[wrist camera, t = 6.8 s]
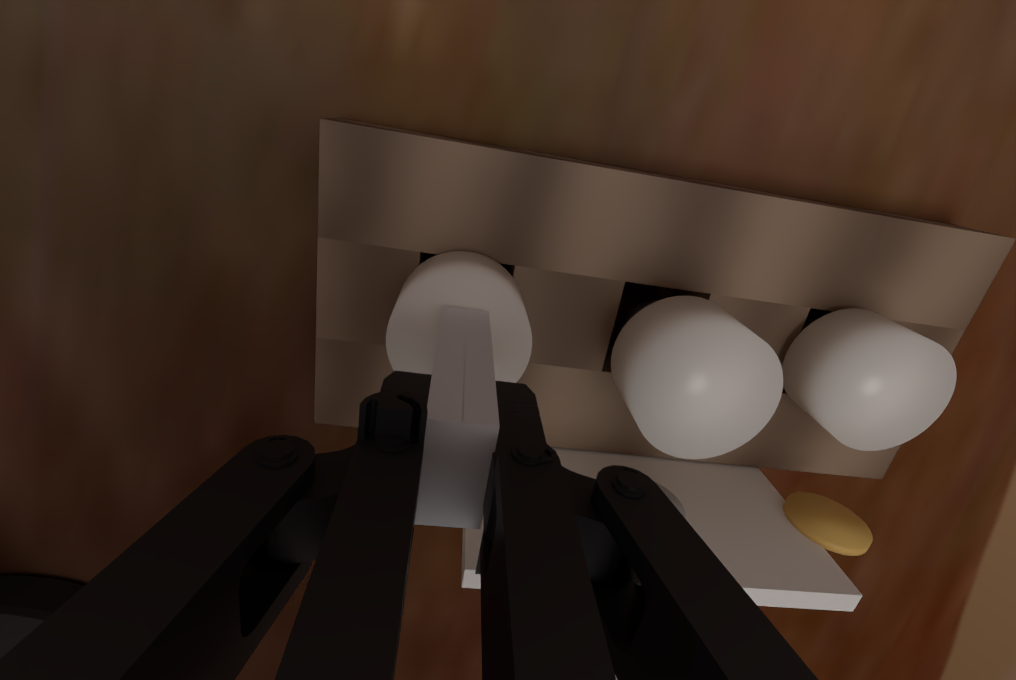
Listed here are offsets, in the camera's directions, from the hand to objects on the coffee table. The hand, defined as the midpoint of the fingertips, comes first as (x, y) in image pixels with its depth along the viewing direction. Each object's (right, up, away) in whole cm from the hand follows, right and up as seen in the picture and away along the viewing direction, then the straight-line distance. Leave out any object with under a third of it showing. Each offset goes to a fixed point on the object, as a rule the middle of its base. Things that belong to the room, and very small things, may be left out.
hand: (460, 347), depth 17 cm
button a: (0, +2, +6) cm, 6 cm away
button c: (+15, +1, +8) cm, 17 cm away
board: (+7, +2, +7) cm, 10 cm away
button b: (+8, +1, +5) cm, 9 cm away
